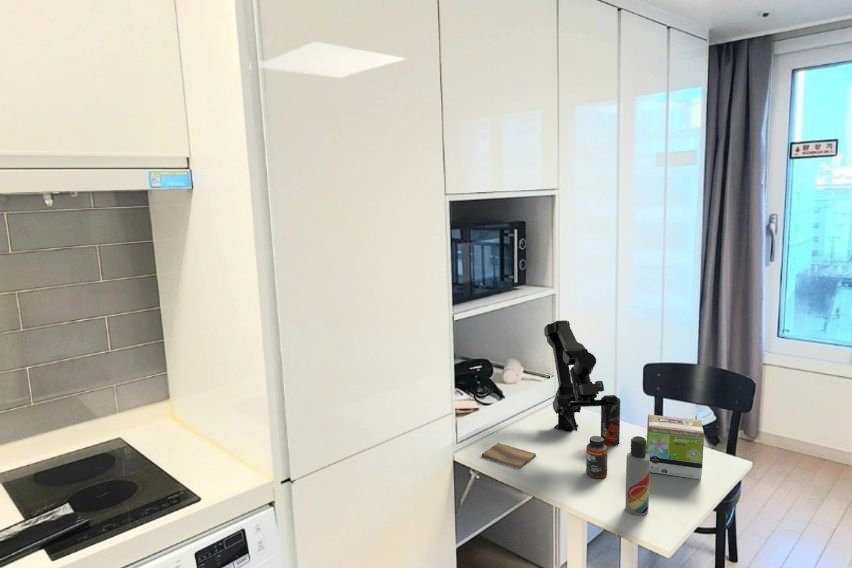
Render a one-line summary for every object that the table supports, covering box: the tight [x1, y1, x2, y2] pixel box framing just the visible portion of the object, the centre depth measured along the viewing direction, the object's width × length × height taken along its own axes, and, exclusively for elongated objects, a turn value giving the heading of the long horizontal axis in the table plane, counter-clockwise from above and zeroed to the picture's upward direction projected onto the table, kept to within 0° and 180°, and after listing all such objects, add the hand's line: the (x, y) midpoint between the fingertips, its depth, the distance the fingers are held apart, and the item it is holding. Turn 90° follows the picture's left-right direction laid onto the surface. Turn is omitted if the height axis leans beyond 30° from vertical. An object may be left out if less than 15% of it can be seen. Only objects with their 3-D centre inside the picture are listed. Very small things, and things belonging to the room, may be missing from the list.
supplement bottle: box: [585, 435, 608, 479], centre depth 170 cm, size 6×6×11 cm
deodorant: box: [600, 396, 621, 447], centre depth 191 cm, size 6×6×15 cm
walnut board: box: [480, 442, 537, 470], centre depth 184 cm, size 10×14×1 cm
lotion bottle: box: [625, 435, 651, 516], centre depth 150 cm, size 6×6×20 cm
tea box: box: [646, 414, 705, 481], centre depth 172 cm, size 15×10×15 cm
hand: (591, 430), depth 174 cm, fingers open, 9 cm apart
